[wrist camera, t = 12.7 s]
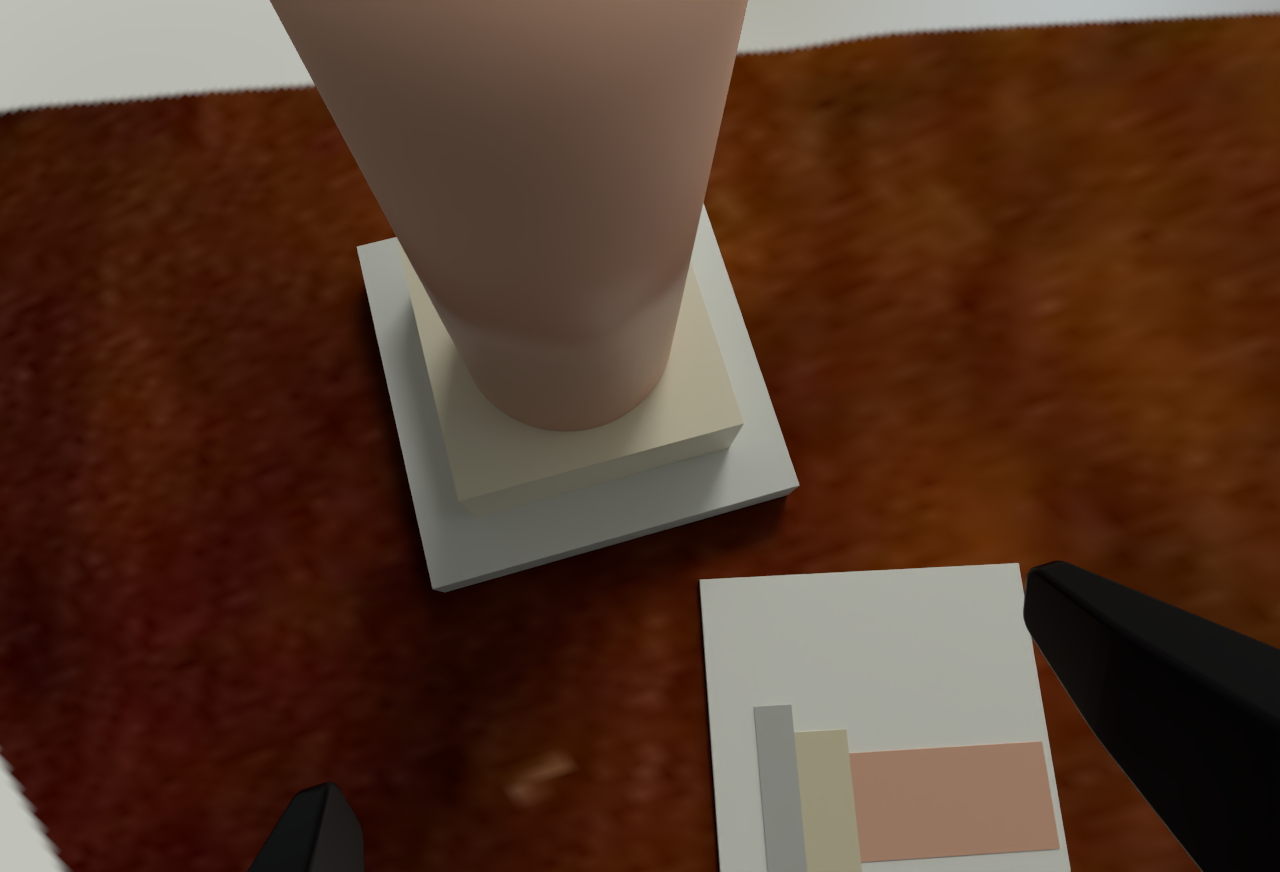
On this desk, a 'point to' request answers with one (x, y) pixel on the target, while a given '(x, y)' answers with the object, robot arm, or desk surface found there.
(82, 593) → the desk surface
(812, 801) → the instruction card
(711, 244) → the tower base
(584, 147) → the column
